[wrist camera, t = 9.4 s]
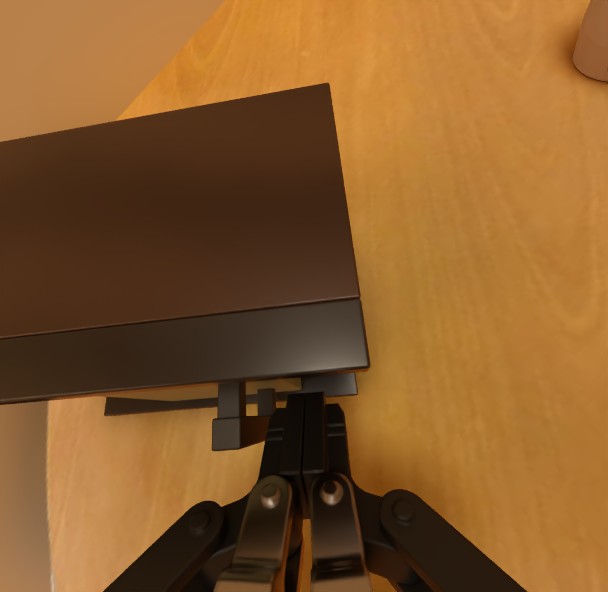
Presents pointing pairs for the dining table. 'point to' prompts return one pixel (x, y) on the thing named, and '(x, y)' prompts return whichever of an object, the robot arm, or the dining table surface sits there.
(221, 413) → the door
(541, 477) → the dining table surface
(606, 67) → the cup
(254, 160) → the cabinet
